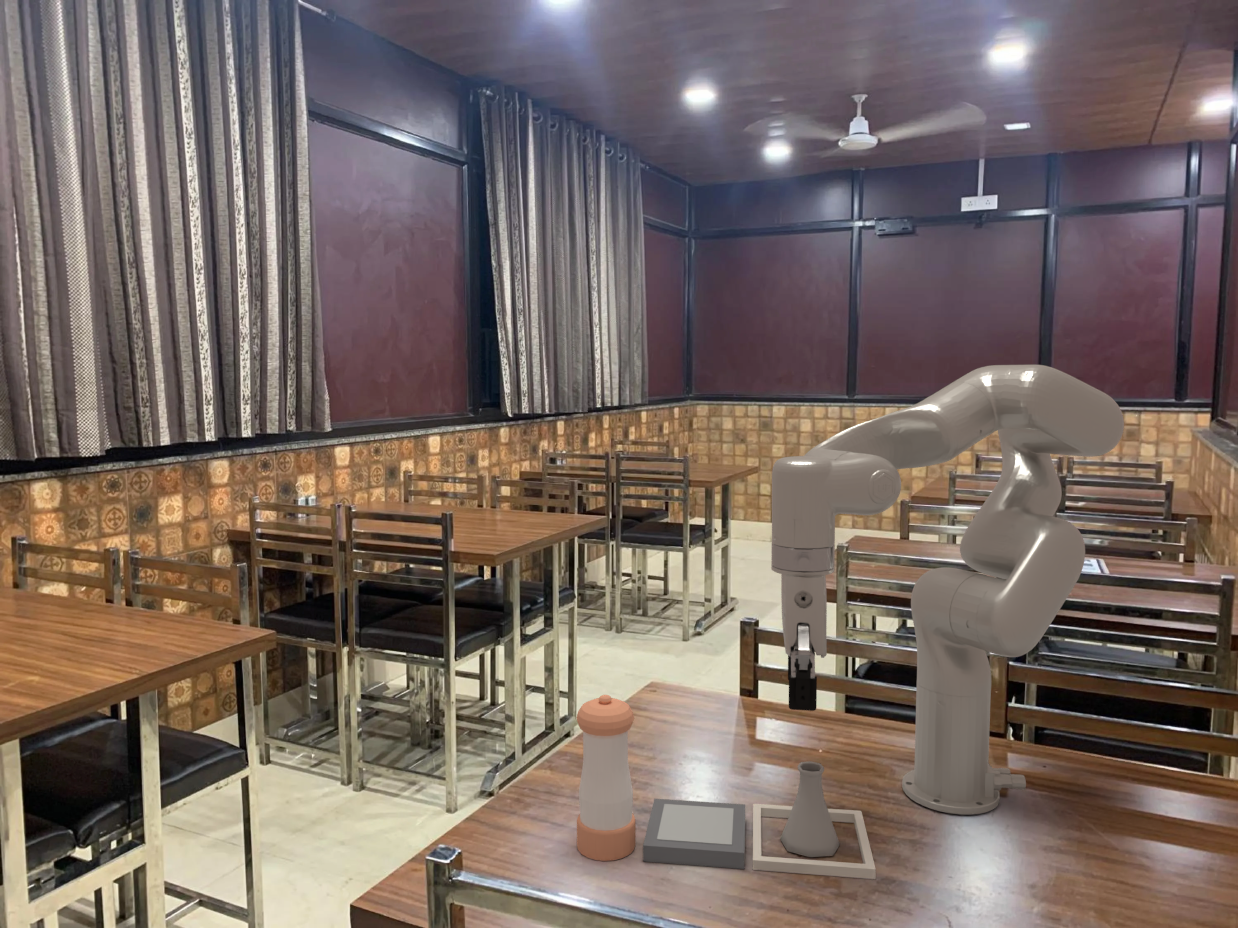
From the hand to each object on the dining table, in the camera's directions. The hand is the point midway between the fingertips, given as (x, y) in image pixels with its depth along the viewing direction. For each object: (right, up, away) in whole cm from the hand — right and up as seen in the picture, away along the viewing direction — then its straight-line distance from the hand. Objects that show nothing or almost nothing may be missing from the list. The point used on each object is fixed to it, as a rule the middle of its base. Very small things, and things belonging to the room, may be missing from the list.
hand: (801, 694), depth 109 cm
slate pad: (-13, -19, +2) cm, 23 cm away
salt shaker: (-24, -19, +1) cm, 31 cm away
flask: (+1, -19, +1) cm, 19 cm away
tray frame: (+1, -19, +1) cm, 19 cm away
